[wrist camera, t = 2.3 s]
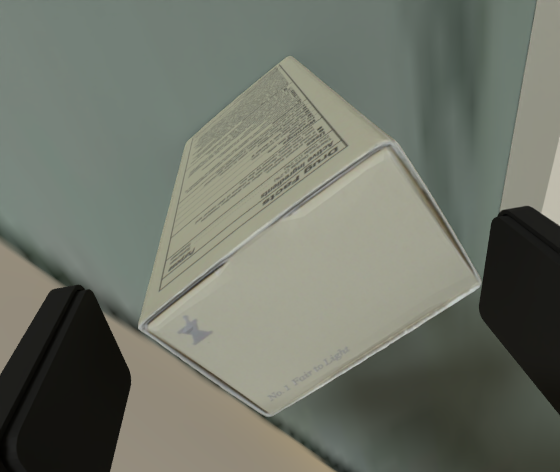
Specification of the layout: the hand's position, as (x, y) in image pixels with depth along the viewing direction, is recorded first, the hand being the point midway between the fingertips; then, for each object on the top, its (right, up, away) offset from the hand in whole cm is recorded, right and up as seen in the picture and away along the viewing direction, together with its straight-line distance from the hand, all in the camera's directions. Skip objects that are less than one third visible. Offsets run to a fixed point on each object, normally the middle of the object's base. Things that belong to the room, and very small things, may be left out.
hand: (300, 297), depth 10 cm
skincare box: (-1, +6, +9) cm, 11 cm away
